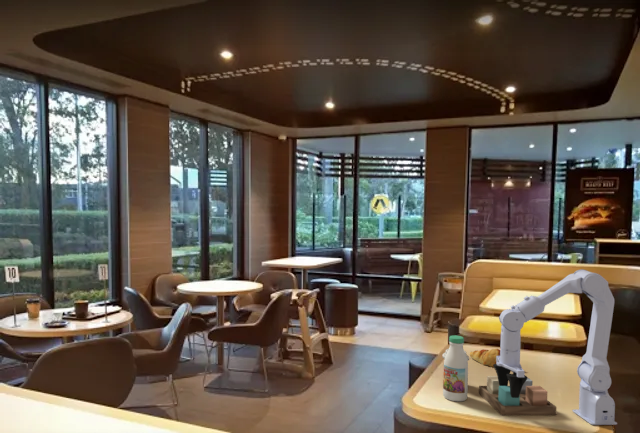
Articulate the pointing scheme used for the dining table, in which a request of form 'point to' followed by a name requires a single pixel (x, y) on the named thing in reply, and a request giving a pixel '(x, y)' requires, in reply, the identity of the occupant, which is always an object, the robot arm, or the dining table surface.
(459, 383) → the milk bottle
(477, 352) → the croissant
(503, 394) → the teal block
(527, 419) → the dining table surface
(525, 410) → the puzzle board
